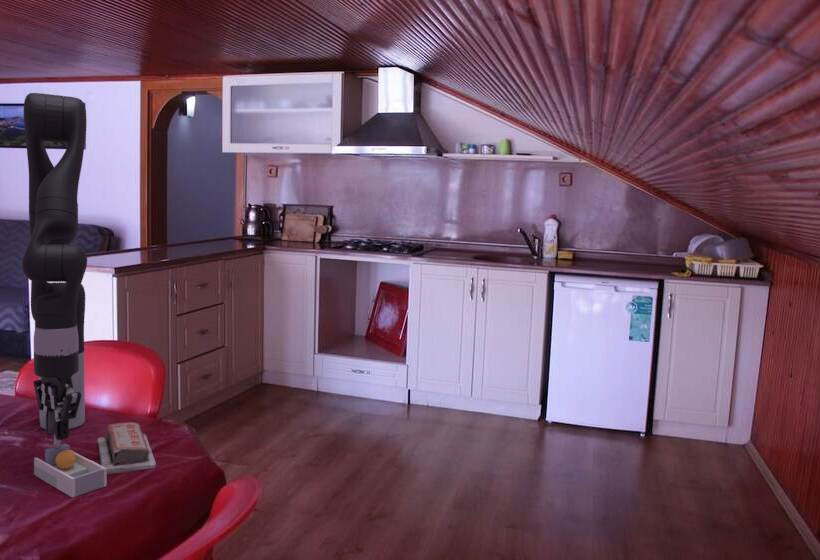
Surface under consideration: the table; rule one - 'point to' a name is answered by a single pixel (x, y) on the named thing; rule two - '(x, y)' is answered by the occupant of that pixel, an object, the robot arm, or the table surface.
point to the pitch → (50, 472)
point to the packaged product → (125, 449)
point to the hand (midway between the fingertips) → (57, 435)
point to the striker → (54, 451)
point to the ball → (65, 459)
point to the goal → (82, 480)
